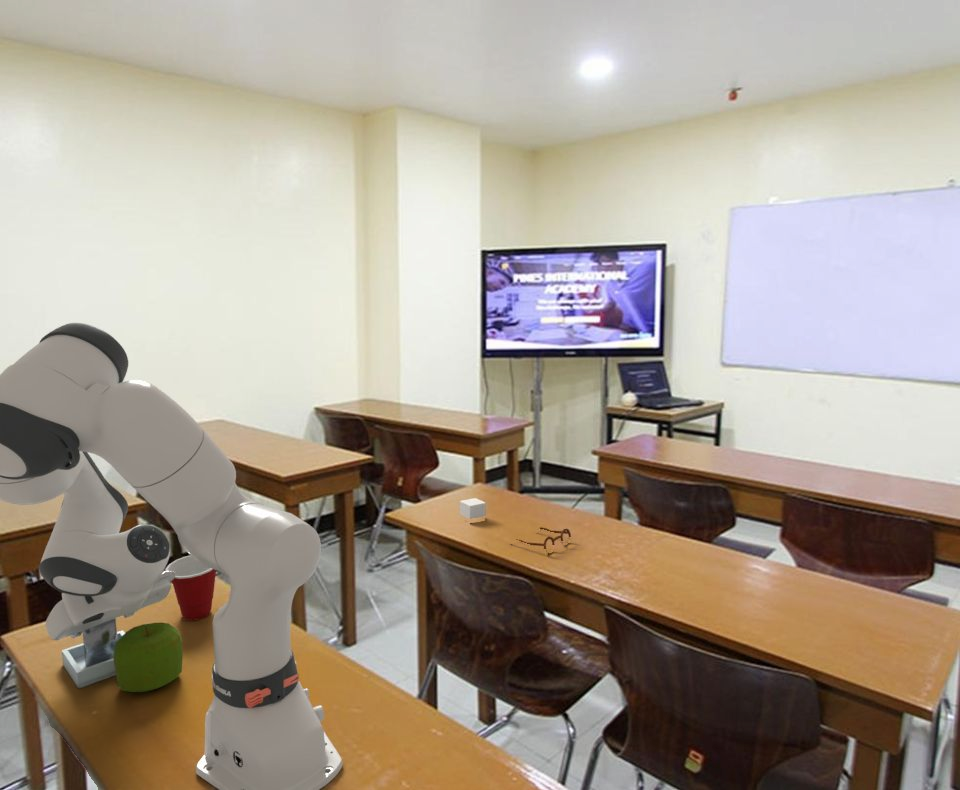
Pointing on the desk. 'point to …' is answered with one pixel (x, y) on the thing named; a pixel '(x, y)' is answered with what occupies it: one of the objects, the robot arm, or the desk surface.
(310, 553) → the robot arm
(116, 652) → the apple
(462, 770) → the desk surface
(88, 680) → the tray
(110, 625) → the tin
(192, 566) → the plastic cup
